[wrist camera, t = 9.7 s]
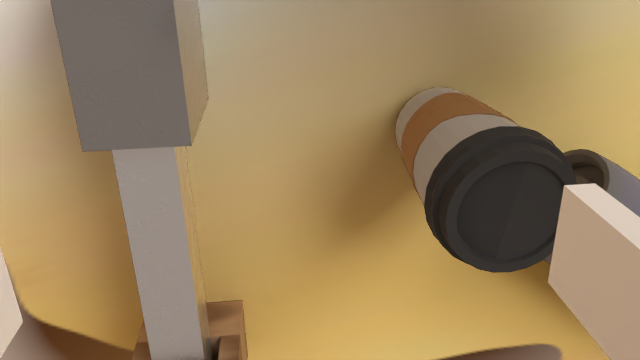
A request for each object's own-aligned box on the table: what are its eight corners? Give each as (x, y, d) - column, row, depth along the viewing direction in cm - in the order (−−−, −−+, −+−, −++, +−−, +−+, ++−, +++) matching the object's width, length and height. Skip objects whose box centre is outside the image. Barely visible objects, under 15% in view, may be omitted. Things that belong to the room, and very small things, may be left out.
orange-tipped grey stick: (176, 73, 34) (167, 88, 31) (216, 380, 45) (212, 417, 41) (115, 76, 34) (99, 91, 31) (170, 384, 44) (162, 421, 41)
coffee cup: (371, 168, 44) (418, 273, 30) (394, 64, 41) (459, 129, 27) (470, 180, 45) (559, 287, 31) (499, 80, 42) (613, 150, 28)
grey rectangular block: (188, -84, 35) (161, -90, 26) (208, 98, 40) (191, 145, 31) (92, -82, 35) (31, -88, 26) (124, 102, 40) (82, 151, 31)
